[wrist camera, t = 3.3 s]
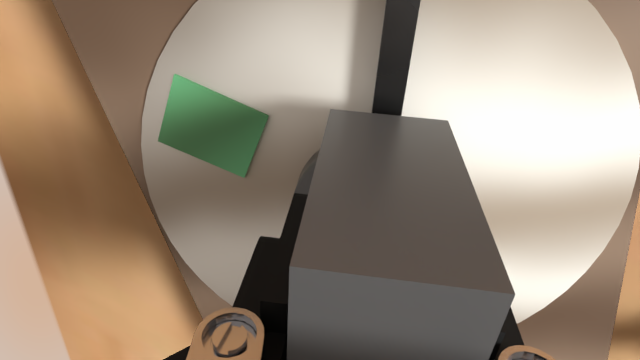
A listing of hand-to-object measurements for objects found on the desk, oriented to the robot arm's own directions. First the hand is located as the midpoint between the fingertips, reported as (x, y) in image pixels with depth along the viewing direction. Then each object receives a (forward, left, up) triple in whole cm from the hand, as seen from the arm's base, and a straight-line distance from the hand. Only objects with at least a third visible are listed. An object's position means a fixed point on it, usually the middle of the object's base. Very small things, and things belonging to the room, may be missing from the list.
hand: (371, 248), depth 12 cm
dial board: (0, 0, -6) cm, 6 cm away
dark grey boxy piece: (+2, 0, -2) cm, 3 cm away
